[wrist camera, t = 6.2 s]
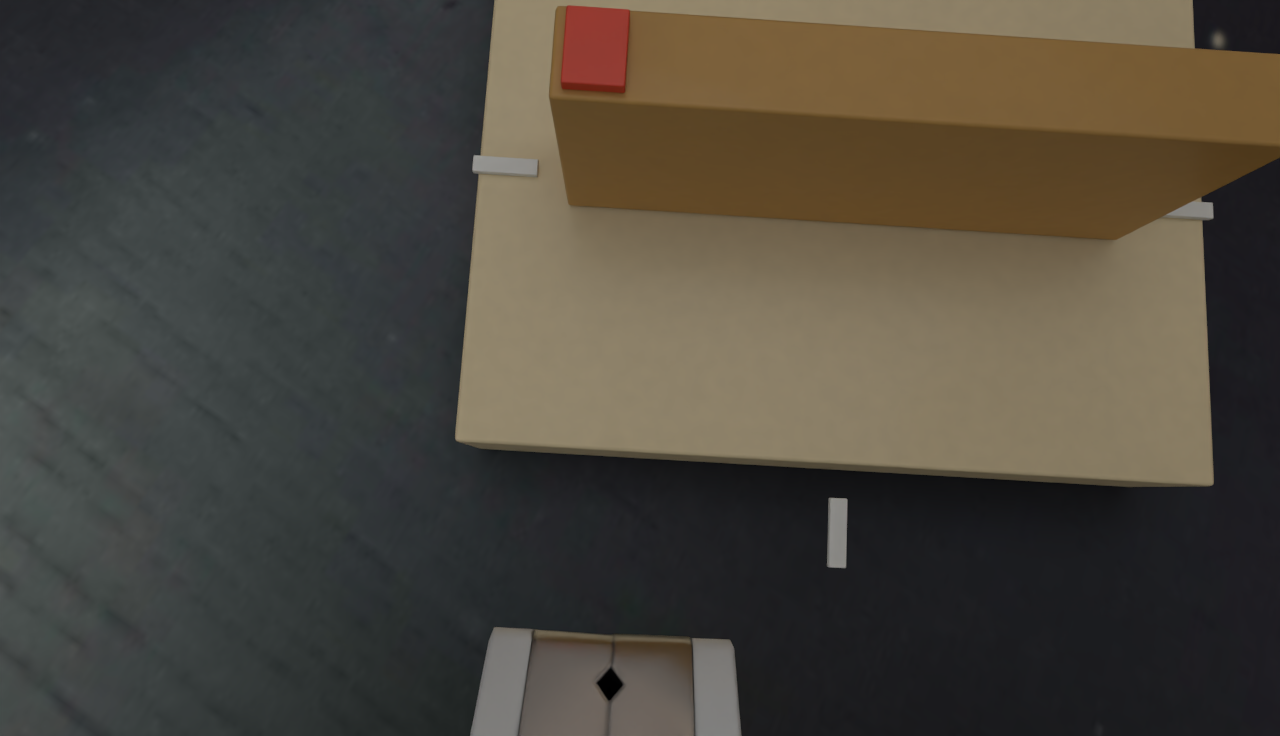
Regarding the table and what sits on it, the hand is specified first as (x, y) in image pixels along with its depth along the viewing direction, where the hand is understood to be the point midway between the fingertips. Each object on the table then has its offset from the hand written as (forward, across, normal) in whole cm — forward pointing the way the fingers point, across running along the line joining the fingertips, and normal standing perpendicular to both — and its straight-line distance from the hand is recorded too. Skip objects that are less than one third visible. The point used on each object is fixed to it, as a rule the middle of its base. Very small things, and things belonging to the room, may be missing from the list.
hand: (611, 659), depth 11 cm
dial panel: (+13, -4, 0) cm, 14 cm away
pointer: (+11, -5, -2) cm, 12 cm away
